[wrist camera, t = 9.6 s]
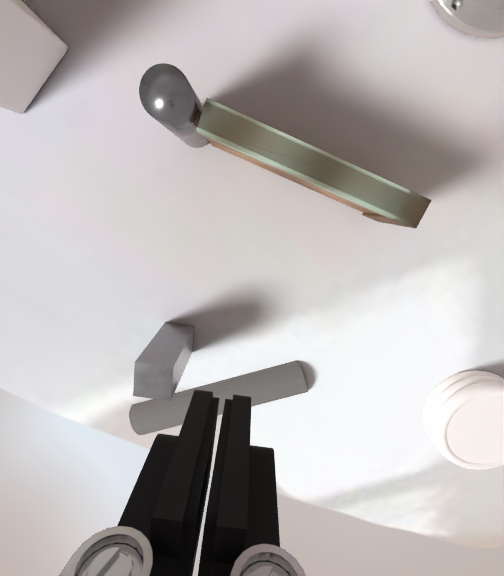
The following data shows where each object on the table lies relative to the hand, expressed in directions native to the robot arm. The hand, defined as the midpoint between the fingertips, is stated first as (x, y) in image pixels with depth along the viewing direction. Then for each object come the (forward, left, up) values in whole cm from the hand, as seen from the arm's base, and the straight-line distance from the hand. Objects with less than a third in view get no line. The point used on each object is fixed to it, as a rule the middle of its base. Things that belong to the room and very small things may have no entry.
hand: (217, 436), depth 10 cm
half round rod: (+1, +15, -24) cm, 28 cm away
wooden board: (-4, -9, -22) cm, 24 cm away
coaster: (-26, +12, -24) cm, 37 cm away
